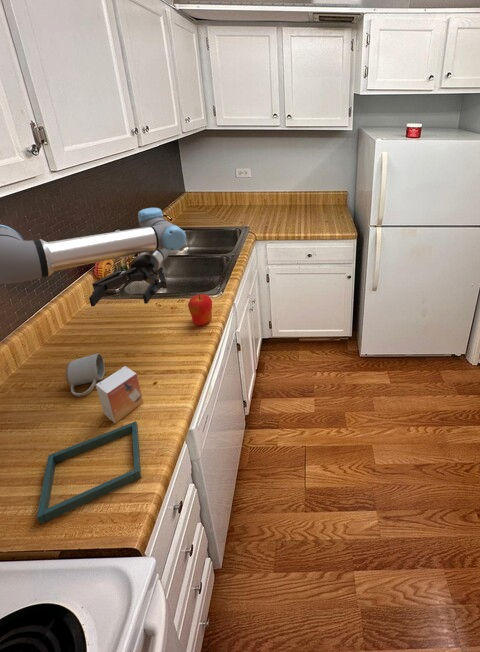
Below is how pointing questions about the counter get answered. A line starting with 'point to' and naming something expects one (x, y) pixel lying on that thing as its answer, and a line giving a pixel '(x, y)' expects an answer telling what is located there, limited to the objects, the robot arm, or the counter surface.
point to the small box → (119, 394)
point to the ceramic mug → (85, 372)
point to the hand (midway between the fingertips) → (118, 300)
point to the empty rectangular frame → (96, 492)
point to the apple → (200, 309)
